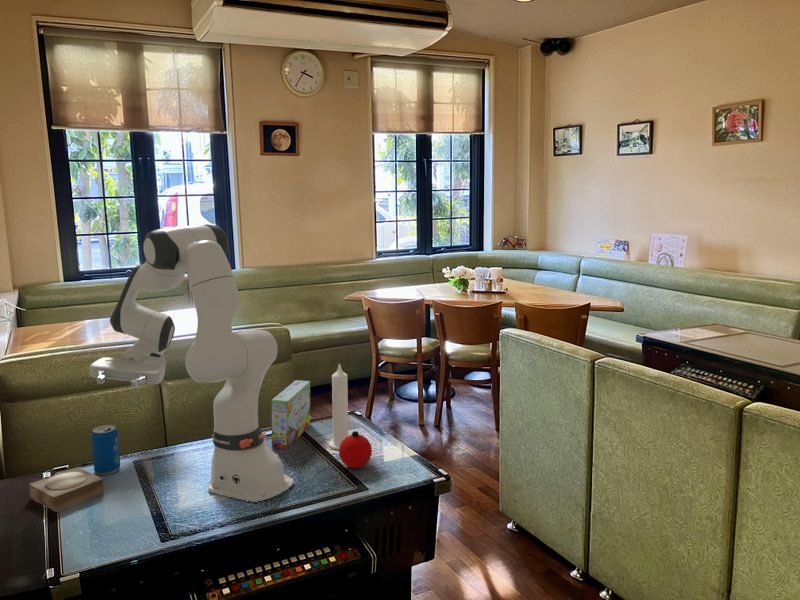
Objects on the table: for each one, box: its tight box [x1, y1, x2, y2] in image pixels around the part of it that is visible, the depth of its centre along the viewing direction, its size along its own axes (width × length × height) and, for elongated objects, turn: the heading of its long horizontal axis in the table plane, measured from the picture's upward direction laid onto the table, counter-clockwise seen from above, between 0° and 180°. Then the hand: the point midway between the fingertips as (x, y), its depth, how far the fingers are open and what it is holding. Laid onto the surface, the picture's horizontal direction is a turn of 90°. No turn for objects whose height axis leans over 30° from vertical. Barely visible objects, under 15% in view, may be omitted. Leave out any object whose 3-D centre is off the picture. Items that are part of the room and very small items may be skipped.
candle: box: [328, 363, 349, 451], centre depth 188 cm, size 7×7×25 cm
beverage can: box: [90, 424, 121, 476], centre depth 172 cm, size 6×6×12 cm
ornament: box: [338, 430, 373, 469], centre depth 175 cm, size 9×9×10 cm
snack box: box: [271, 379, 311, 450], centre depth 196 cm, size 21×6×15 cm, turn 170°
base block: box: [28, 466, 105, 513], centre depth 158 cm, size 12×12×4 cm
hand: (116, 383), depth 178 cm, fingers open, 8 cm apart
